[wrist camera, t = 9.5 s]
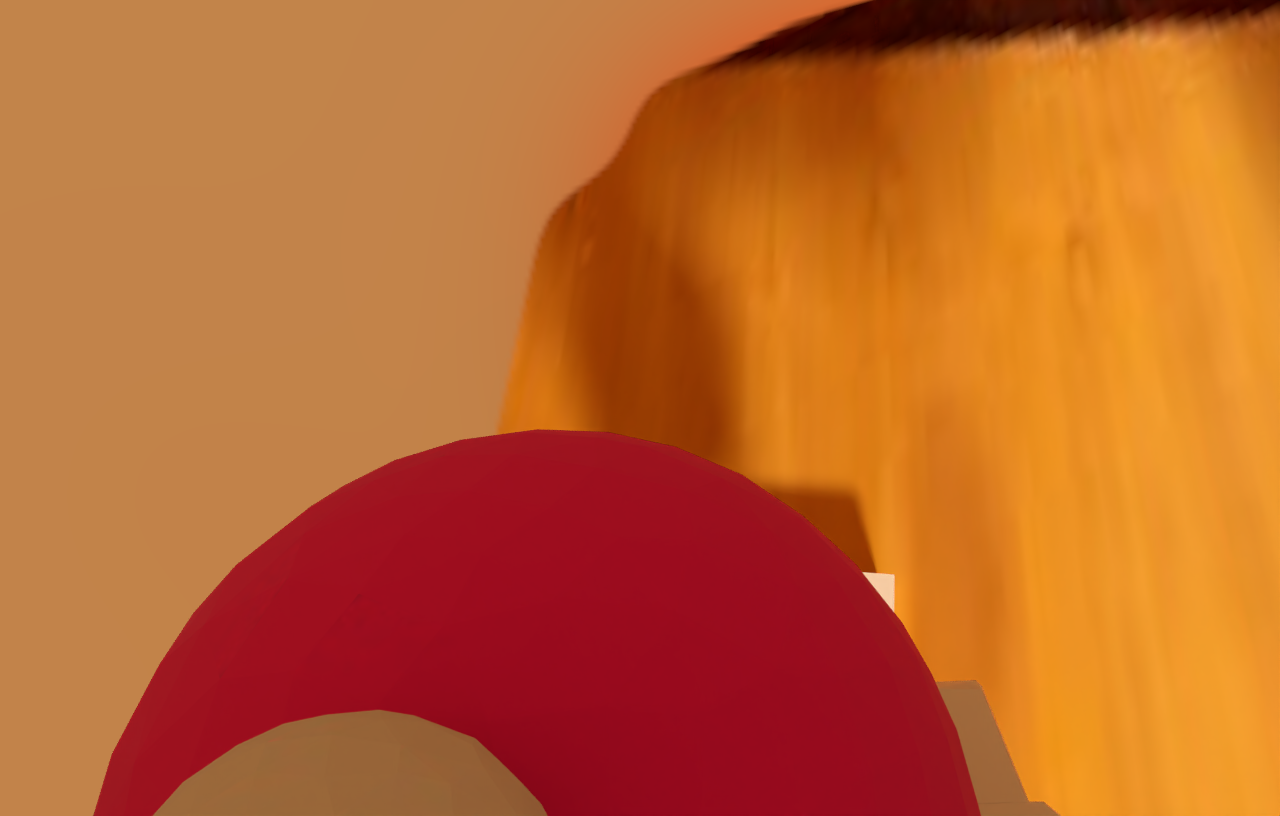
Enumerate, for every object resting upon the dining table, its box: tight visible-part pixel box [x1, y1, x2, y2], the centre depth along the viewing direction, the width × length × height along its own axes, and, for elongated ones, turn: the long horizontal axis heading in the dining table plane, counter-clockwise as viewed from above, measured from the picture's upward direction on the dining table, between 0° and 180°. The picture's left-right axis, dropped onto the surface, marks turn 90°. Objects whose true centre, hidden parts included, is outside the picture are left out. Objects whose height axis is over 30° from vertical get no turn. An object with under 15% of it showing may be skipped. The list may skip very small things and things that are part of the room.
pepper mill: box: [93, 429, 981, 816], centre depth 12 cm, size 7×7×20 cm
